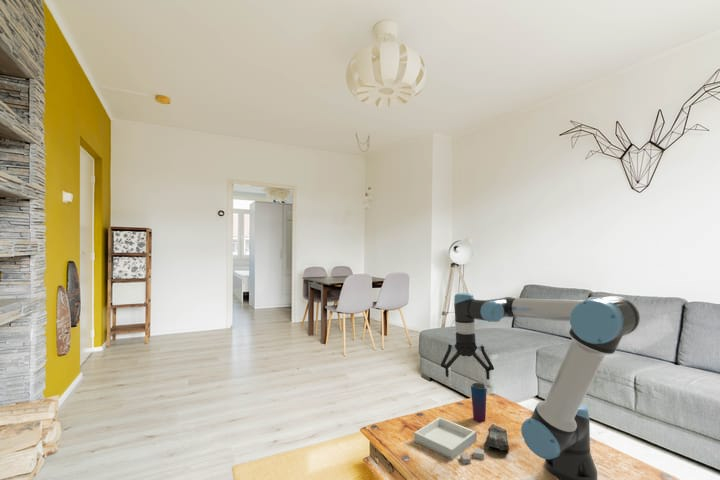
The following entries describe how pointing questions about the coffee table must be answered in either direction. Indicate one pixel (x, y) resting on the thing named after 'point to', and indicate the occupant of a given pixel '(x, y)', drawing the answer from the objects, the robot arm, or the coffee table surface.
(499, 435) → the rock
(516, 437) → the coffee table surface
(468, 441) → the bin
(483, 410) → the cup
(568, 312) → the robot arm
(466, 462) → the chip
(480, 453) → the grey small block
